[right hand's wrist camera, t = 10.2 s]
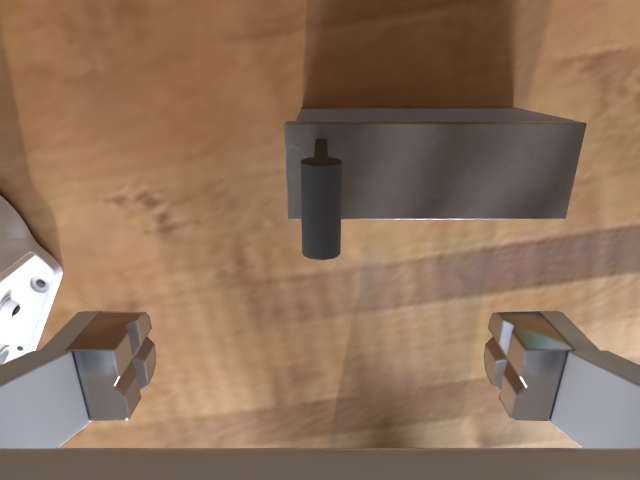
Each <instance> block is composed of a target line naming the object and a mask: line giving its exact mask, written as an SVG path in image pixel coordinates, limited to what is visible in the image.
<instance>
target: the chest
mask: <svg viewBox="0 0 640 480" xmlns="http://www.w3.org/2000/svg"><path fill="white" fill-rule="evenodd" d="M343 121H574V120H569V119H565V118H560V117H555V116H551V115H546V114H541V113H537V112H532V111H528V110H523V109H519V108H515V107H448V108H301V111H300V114H299V116H298V118H297V120H296V122H343Z"/></svg>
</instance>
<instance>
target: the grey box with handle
mask: <svg viewBox="0 0 640 480" xmlns="http://www.w3.org/2000/svg"><path fill="white" fill-rule="evenodd" d="M585 128H586V123H583V122H578V121H343V122H286V123H285V141H286V173H287V206H288V219H302V253H303V255H304V256H305V257H307V258H309V259H313V260H329V259H333V258H336V257H337V256H339V254H340V238H341V219H565V218H566V214H567V209H568V205H569V200H570V196H571V191H572V187H573V182H574V178H575V173H576V169H577V164H578V160H579V155H580V151H581V146H582V142H583V137H584V133H585Z"/></svg>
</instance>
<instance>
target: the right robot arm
mask: <svg viewBox="0 0 640 480" xmlns="http://www.w3.org/2000/svg"><path fill="white" fill-rule="evenodd" d="M62 275H63V271H62V268H61V266H60V264H59V263H58V262H57V261H56V260H55V259H54V258H53V257H52V256H51V255H50V254H49V253H48V252H47V251H45V250H44V249H43V248H42V247H41V246H39V245H38V243H37V242H36V241H35V239H34V238H33V236H32V234H31V233H30V231H29V229H28V227H27V226H26V224H25V222H24V221H23V219H22V218H21V217H20V215H19V214H18V213H17V211H16V210H15V209H14V208H13V207H12V206H11V205H10V204H9V203H8V202H7V201H6V200H5V199H4V198H3V197H2V196H1V195H0V480H640V365H638V364H636V363H634V362H631V361H629V360H627V359H625V358H622V357H620V356H618V355H616V354H613V353H611V352H609V351H600V350H599V349H598V348H597V347H596V346H595V345H594V344H593V343H592V342H591V341H590V340H589V339H588V338H587V337H586V336H585V335H584V334H583V333H582V332H581V331H580V330H579V329H578V328H577V327H576V326H575V325H574V324H573V323H572V322H571V321H570V320H569V319H568V318H567V317H566V316H565V315H564V314H563V313H562V312H559V311H537V312H498V313H493V314H492V316H491V318H490V321H489V327H488V329H489V330H490V332H491V333H492V335H493V337H492V338H491V339H490V340H489V341H488V342H487V343H486V344H485V352H484V364H485V370H486V373H487V376H488V378H489V380H490V382H491V384H492V385H494V386H495V387H497V388H498V389H500V394H499V399H500V401H501V403H502V405H503V406H504V408H505V410H506V412H507V414H508V415H509V417H510V419H511V420H531V421H551V422H550V423H551V424H552V425H554V426H555V427H556V428H558V429H559V430H560V431H561V432H563V433H564V434H565V435H566V436H568V437H569V438H570V439H572V440H573V441H574V442H575V443H577V444H578V445H579V446H580V447H582V448H58V447H60V446H61V445H62V444H64V443H65V442H66V441H67V440H69V439H70V438H71V437H72V436H74V435H75V434H76V433H78V432H79V431H80V430H81V429H83V428H84V427H85V426H86V425H88V424H89V423H90V422H89V421H108V420H129V419H130V417H131V416H132V414H133V412H134V410H135V408H136V406H137V405H138V403H139V401H140V399H141V394H140V389H142V388H143V387H145V386H146V385H148V384H149V382H150V380H151V378H152V376H153V374H154V369H155V365H156V350H155V344H154V343H153V342H152V341H151V340H150V339H149V338H148V337H147V335H148V333H149V332H150V330H151V329H152V327H151V322H150V317H149V315H148V314H147V313H146V312H119V311H104V312H103V311H82V312H78V313H77V314H76V315H75V316H74V317H73V318H72V319H71V320H70V321H69V322H68V323H67V324H66V325H65V326H64V327H63V328H62V329H61V330H60V331H59V332H58V333H57V334H56V335H55V336H54V337H53V338H52V339H51V340H50V341H49V342H48V343H47V344H46V345H45V346H44V347H43V348H42V349H41V350H40V351H35V350H36V347H37V345H38V342H39V339H40V336H41V334H42V331H43V328H44V325H45V323H46V320H47V317H48V314H49V312H50V309H51V306H52V303H53V301H54V298H55V295H56V292H57V289H58V287H59V284H60V281H61V278H62ZM41 280H43V281H44V282H45V284H44V283H42V282H41Z"/></svg>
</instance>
